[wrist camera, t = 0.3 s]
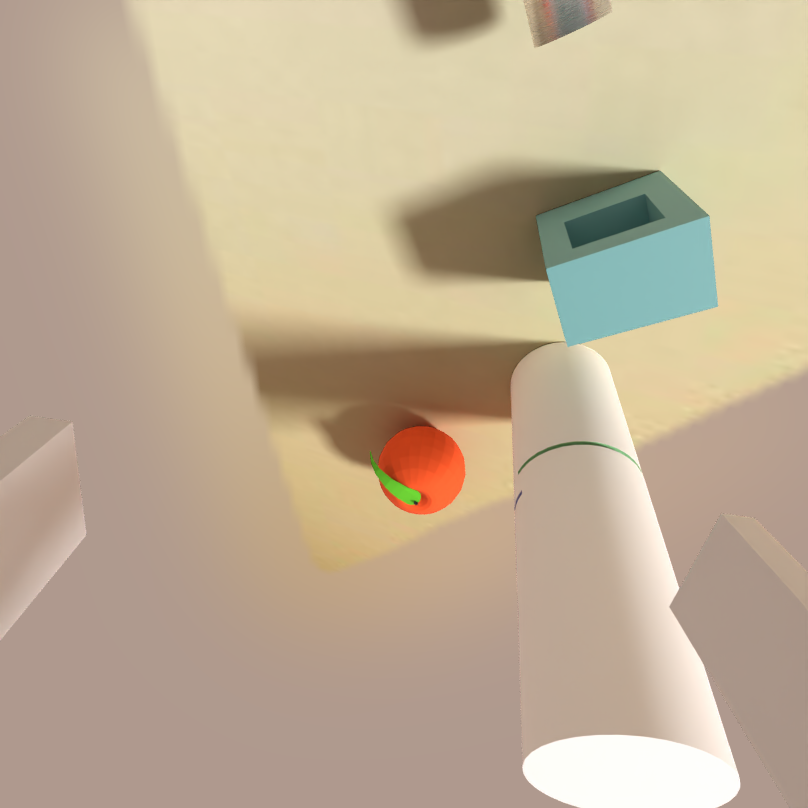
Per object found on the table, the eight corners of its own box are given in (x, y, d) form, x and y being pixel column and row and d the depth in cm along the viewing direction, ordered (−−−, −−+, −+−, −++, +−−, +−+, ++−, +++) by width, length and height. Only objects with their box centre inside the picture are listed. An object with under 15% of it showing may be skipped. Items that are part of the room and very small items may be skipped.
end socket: (660, 170, 29) (709, 215, 22) (670, 244, 31) (718, 306, 24) (535, 215, 31) (545, 269, 24) (553, 281, 33) (567, 347, 27)
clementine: (361, 440, 44) (340, 501, 39) (401, 387, 40) (385, 447, 35) (438, 482, 46) (430, 547, 40) (484, 435, 42) (482, 499, 36)
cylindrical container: (501, 413, 40) (504, 792, 20) (522, 334, 36) (551, 717, 16) (592, 428, 40) (685, 830, 20) (625, 350, 36) (784, 763, 16)
